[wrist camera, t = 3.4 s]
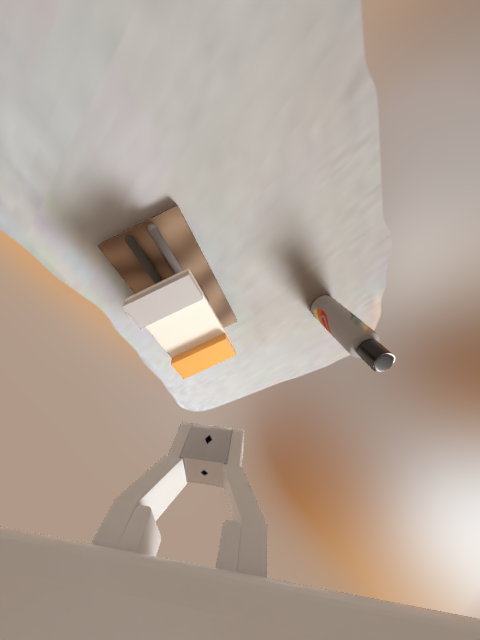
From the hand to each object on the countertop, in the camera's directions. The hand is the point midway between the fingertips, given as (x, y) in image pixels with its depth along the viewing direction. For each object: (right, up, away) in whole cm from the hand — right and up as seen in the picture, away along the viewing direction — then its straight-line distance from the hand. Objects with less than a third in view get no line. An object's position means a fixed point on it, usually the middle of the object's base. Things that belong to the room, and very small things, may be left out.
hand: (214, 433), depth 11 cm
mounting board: (-11, +12, +32) cm, 35 cm away
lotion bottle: (+20, +9, +41) cm, 47 cm away
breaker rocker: (-8, +5, +26) cm, 28 cm away
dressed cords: (-12, +15, +28) cm, 34 cm away
